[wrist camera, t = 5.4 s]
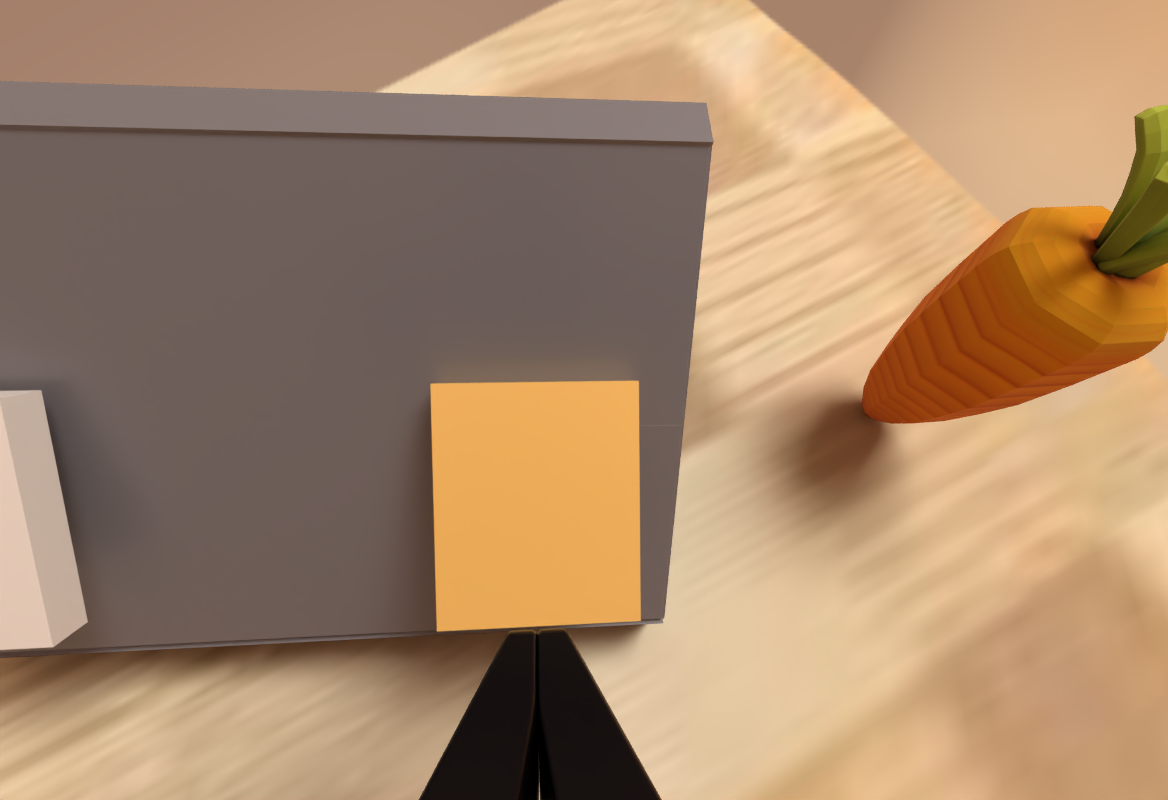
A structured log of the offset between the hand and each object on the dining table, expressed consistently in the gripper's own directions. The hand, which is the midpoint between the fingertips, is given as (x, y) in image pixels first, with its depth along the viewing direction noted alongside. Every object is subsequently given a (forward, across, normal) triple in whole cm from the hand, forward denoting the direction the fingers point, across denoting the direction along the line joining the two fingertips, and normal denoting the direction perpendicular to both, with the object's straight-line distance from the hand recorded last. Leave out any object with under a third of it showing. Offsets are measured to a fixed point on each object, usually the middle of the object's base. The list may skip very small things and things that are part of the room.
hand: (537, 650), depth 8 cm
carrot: (+15, -15, +3) cm, 22 cm away
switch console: (+13, +7, +6) cm, 16 cm away
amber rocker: (+7, 0, +3) cm, 8 cm away
